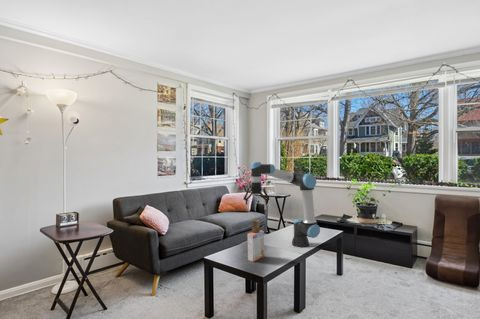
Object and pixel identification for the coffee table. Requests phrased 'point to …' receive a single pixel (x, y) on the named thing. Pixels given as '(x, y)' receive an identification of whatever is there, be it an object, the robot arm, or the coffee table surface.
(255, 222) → the walnut block
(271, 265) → the coffee table surface
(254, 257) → the cracker box
